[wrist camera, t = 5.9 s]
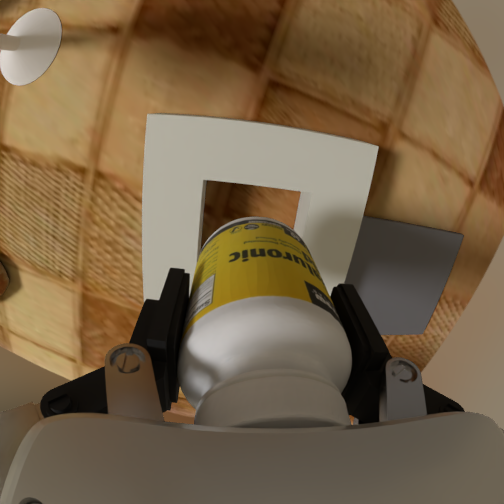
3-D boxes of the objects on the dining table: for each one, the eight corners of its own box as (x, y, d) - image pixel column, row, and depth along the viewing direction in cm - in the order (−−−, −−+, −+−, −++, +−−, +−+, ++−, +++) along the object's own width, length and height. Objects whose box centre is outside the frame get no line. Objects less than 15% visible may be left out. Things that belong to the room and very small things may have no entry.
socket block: (159, 112, 19) (147, 114, 16) (361, 140, 20) (378, 146, 18) (153, 292, 25) (144, 313, 22) (320, 307, 26) (328, 329, 24)
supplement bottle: (331, 245, 15) (423, 416, 6) (272, 325, 17) (298, 498, 8) (230, 191, 14) (222, 366, 5) (179, 285, 16) (139, 470, 7)
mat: (358, 214, 23) (359, 216, 23) (461, 233, 24) (463, 235, 24) (324, 330, 28) (325, 333, 27) (420, 331, 29) (422, 334, 28)
